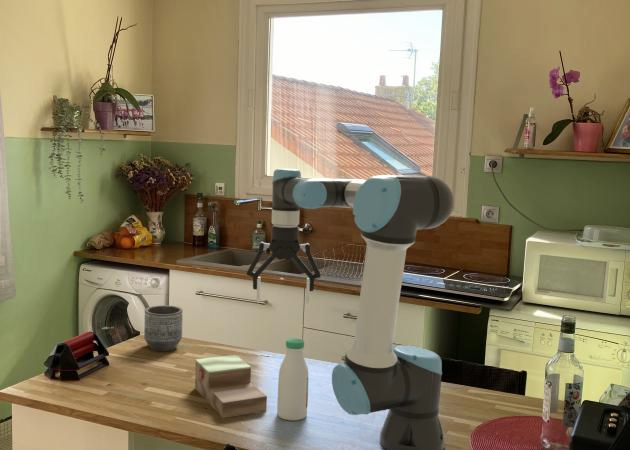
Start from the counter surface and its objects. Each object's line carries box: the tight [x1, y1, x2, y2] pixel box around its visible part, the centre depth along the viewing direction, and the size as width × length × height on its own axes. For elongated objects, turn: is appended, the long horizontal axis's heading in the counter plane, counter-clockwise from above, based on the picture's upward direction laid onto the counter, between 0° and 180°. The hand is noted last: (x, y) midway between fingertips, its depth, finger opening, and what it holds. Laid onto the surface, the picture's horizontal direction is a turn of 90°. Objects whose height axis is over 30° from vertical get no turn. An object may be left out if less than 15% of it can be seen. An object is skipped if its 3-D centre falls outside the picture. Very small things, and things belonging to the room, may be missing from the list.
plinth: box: [194, 354, 268, 419], centre depth 190 cm, size 22×13×8 cm, turn 28°
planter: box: [143, 304, 183, 352], centre depth 232 cm, size 12×12×13 cm
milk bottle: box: [276, 337, 309, 422], centre depth 181 cm, size 8×8×20 cm
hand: (282, 301), depth 195 cm, fingers open, 13 cm apart
